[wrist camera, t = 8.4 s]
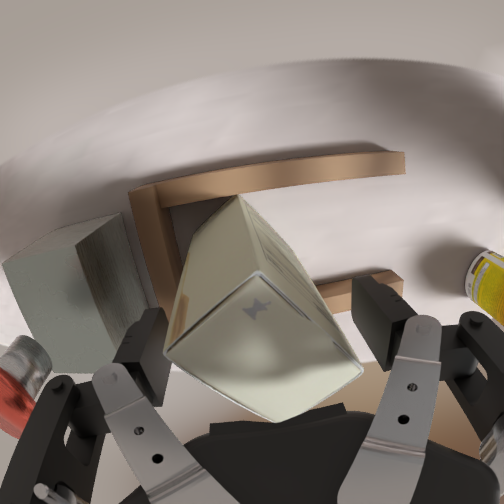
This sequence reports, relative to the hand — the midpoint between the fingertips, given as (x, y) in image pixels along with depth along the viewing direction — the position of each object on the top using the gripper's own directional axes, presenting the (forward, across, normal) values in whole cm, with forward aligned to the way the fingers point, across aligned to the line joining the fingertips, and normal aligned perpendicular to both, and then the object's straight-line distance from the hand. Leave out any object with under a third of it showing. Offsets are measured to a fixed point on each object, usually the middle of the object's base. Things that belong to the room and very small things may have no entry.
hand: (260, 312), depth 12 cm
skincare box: (+9, 0, 0) cm, 9 cm away
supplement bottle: (+10, -23, +7) cm, 26 cm away
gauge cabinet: (+9, +11, 0) cm, 14 cm away
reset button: (-2, +11, 0) cm, 11 cm away
